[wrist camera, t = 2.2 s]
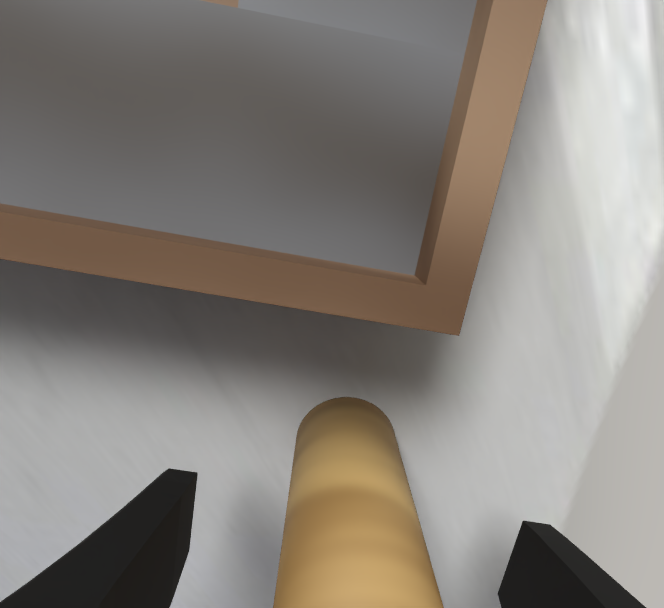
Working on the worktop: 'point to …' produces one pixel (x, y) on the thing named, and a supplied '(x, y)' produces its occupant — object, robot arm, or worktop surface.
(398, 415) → the worktop surface
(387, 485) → the peg
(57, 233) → the tray
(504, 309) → the worktop surface
